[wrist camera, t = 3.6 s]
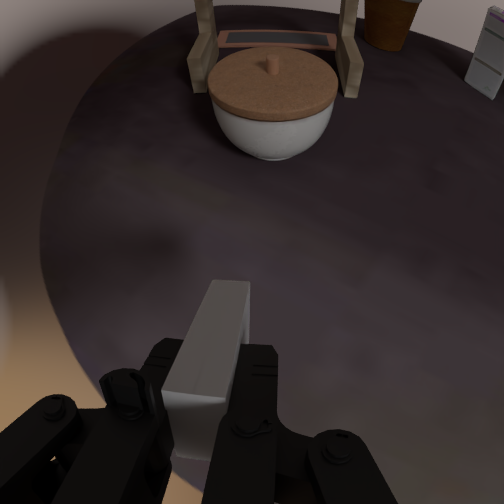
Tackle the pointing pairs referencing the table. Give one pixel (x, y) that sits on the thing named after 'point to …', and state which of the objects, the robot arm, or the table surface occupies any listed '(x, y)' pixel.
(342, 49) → the tunnel
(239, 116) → the lidded jar
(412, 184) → the table surface
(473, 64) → the syrup box
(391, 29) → the disposable coffee cup
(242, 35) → the framed chalkboard
